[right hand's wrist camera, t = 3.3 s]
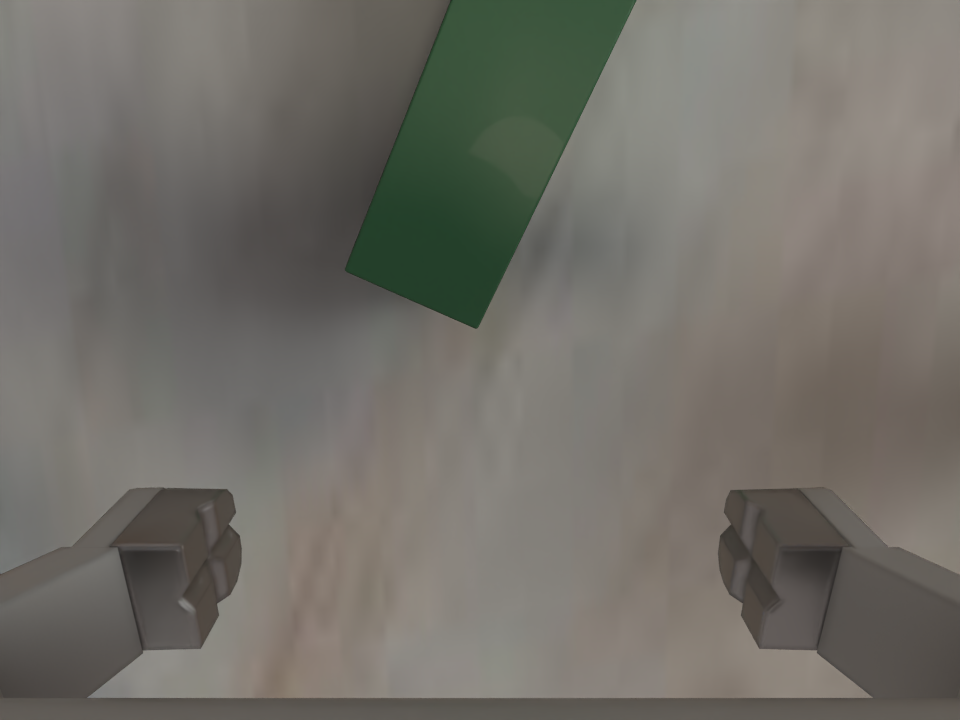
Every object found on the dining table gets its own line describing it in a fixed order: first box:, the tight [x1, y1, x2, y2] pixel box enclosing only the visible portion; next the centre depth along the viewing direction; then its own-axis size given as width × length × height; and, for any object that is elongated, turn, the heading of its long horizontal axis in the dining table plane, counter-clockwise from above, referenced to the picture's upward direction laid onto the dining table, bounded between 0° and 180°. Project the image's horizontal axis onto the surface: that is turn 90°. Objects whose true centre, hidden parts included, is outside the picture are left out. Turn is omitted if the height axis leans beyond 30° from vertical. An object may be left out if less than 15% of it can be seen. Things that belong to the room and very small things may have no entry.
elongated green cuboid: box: [345, 0, 636, 329], centre depth 24 cm, size 17×5×8 cm, turn 155°
